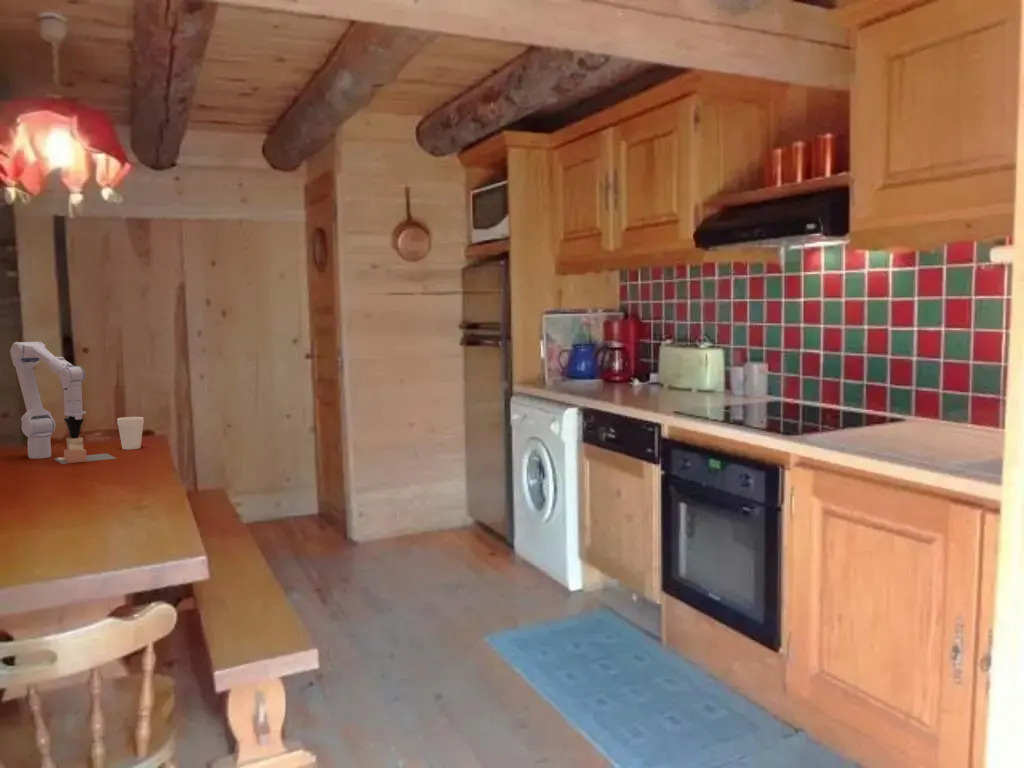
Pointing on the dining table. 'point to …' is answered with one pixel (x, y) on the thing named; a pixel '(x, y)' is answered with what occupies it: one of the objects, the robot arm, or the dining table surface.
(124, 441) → the foam cup
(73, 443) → the cream cube
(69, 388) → the robot arm
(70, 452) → the terracotta block
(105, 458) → the build board
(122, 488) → the dining table surface
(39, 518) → the dining table surface
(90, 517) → the dining table surface
